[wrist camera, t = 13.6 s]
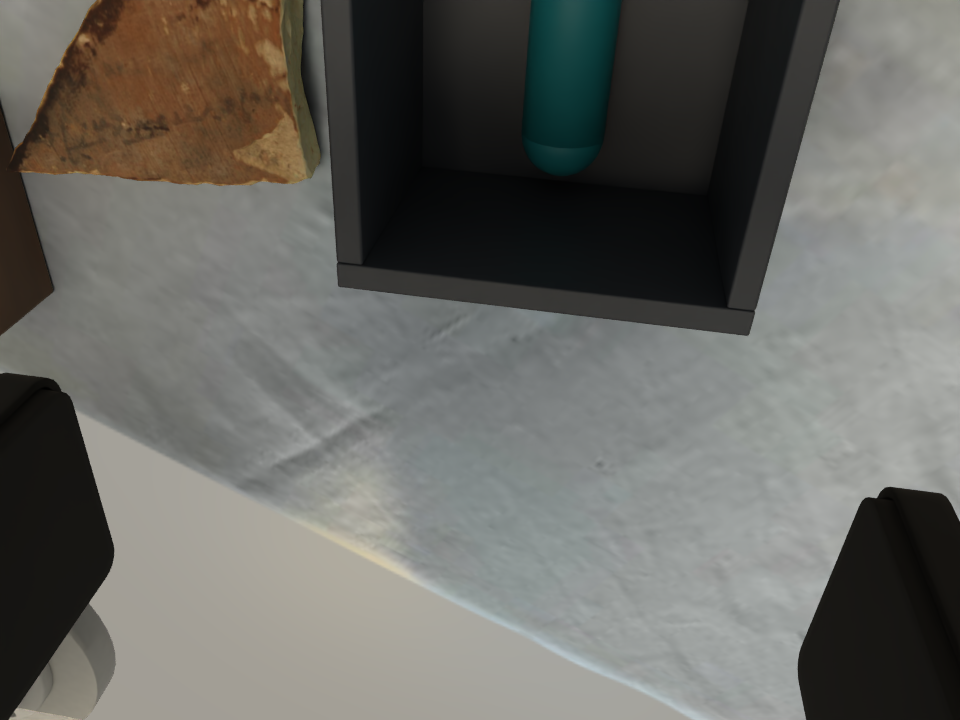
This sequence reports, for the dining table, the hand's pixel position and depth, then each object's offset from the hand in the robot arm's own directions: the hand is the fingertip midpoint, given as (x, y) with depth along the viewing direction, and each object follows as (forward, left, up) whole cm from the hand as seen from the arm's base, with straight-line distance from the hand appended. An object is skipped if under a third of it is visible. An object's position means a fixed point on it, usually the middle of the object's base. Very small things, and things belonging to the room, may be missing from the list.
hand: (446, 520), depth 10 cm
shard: (-12, -2, -19) cm, 22 cm away
